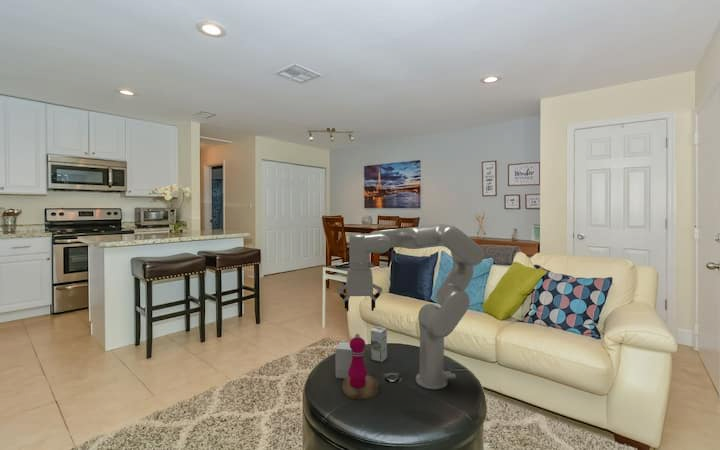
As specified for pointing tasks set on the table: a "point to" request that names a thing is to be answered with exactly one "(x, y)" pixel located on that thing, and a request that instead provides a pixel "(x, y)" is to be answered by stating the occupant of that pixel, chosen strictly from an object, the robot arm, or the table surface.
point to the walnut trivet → (362, 392)
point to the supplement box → (342, 360)
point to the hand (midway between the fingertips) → (360, 310)
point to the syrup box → (378, 344)
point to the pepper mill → (357, 363)
